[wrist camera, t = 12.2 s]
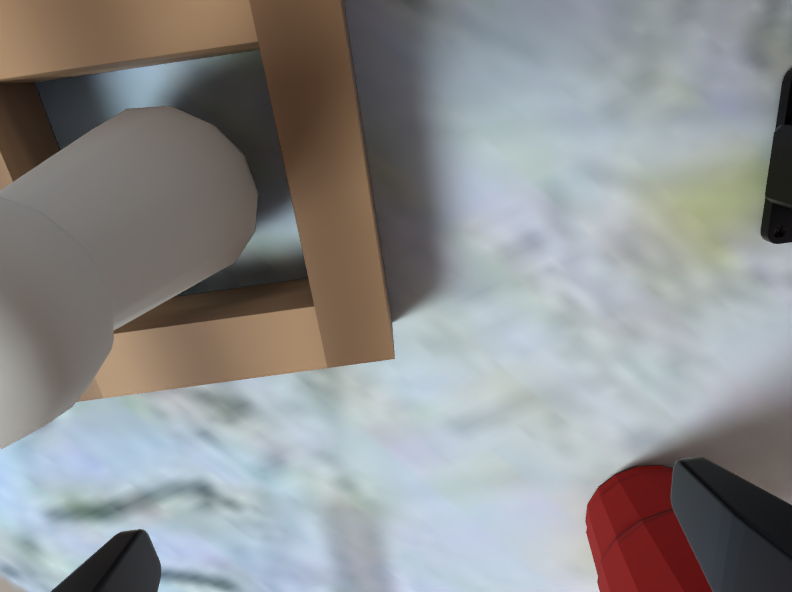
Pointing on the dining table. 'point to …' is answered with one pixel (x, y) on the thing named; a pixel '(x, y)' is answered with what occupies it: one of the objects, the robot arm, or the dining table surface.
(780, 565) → the robot arm
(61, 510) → the dining table surface
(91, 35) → the frame
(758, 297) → the dining table surface
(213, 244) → the salt shaker
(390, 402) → the dining table surface
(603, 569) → the plastic cup
